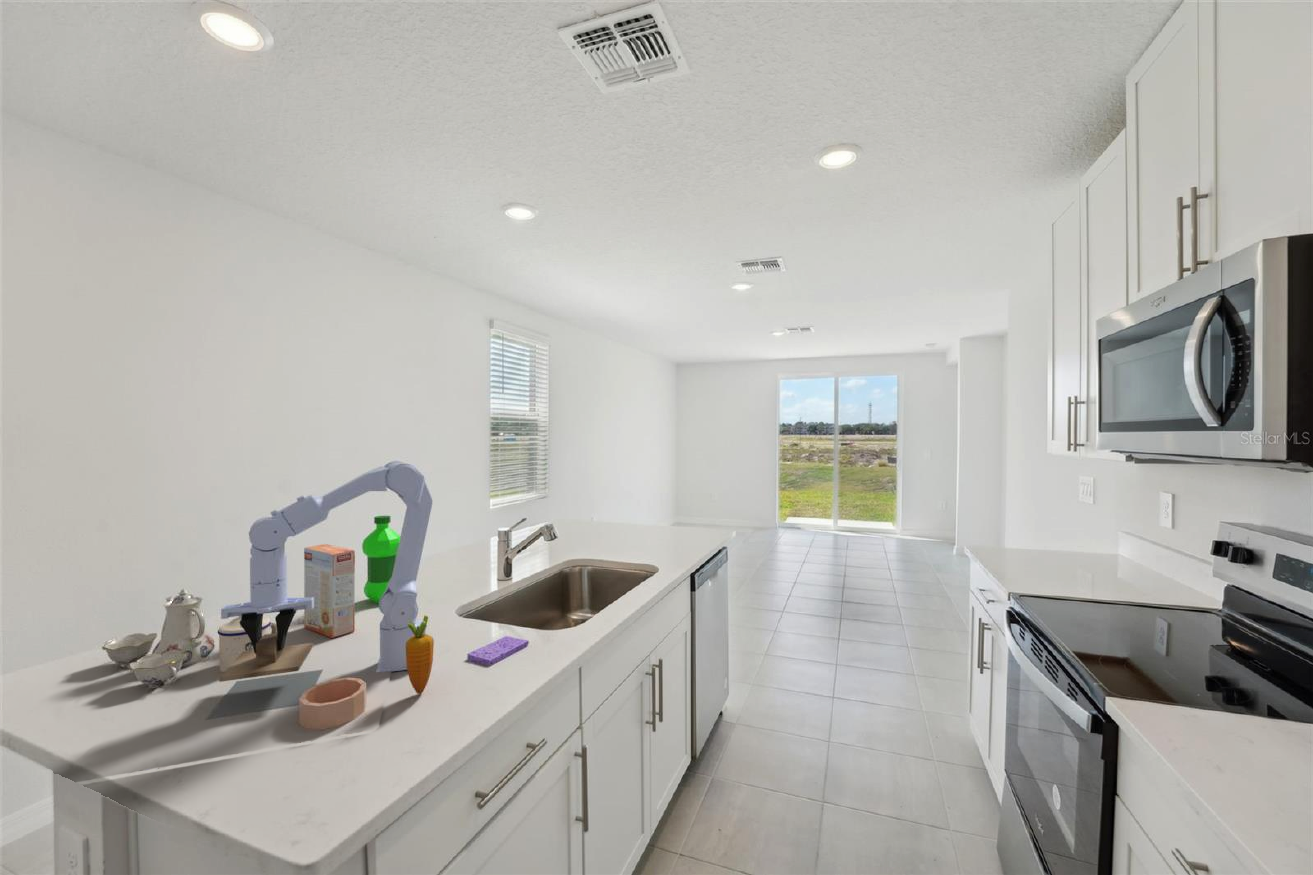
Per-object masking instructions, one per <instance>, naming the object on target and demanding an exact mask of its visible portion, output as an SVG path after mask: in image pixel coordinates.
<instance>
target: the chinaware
mask: <svg viewBox="0 0 1313 875" xmlns="http://www.w3.org/2000/svg"><path fill="white" fill-rule="evenodd" d="M178 594H179V595H178ZM178 594H177V595H176V596H174V598H173V596H168V597H166V598H165V599H166V602H165V603H164V604H163V606H164V608H165V611H166V613H165V617H164V620H163V625H162V628H161V633H160V634H161V635H160V639H159V642H157V643H156V645H155V646H154V648H153V650H152V647H153V644H154V641H155V640H156V638H157V636H158V634H157V633H156V632H151V633H149V634H144V633H140V632H138V633H133V634H129V635H126V636H125V637H123V638H113V639H108V641H106V642H105V643H104V645H103V646H101V650H103V651H105V652H106V654H107V657H109V659H110V660H111V661H113V662H114V663H117V664H119V665H118V667H121V666H122V668H129V669H131V671H133V673H134V675H135V677H136V679H137V680H138V681H139V682H140V683H142V684H145V685H148V688H147V690H148V689H158V688H159V687H160V686H161V685H162V684H163V685H164V686H168V685H170V684H173V683H174V682H176V681H177V679H178V677H177V676H178V672H179V671H180V670H181V668H183V667H186V666H191V665H194V664H197V663H203V662H204V663H205V662H206V661H208V660H209V659H210V656H209V655H210V654H211V653H212V652H213V651H214V650H215V647H216V646H215V640H214V638H213V636H212V635H211V634H210V633H209V632H208V631H207V630H206V619H205V616H204V614H203V611H201V604H202V601H203V600H204V598H202V597H198V596H194V595H193V594H191V593H189V591H187V590H186V589H184V588H182V589H181V590H180V592H178ZM151 650H152V653H151V654H149V652H150V651H151ZM207 659H208V660H207ZM120 665H121V666H120ZM171 679H173V680H171Z"/></svg>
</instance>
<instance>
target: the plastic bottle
mask: <svg viewBox="0 0 1313 875" xmlns="http://www.w3.org/2000/svg"><path fill="white" fill-rule="evenodd" d="M373 518H374V519H373V523H374V525H375V526H376V527H375V529H374V530H373V531H372V532H370V533H369V534H368V535H367V536H366V537H365V538H364V539H363V541H362V545H361V546H362V547H361V548H362V552H363V554H364V555H365V556H367V557H366V558H367V562H366V563H367V581H366V582H365V584H364V587H363V593H364V595H365V597H367V599H369V600H370V601H372V602H373V603H374V604H379V600H380V598H381V596H382V595H383V594H384V592H385V591H386V588H387V584H388V582H389V580H390V579H391V577H392V574H393V569H394V564H395V560H396V555H397V550H398V546H399V541H400V536H401V535H399V534H398V533H397V532H396V531H394V530H393V529H391V528H390V527H389V524H390V523H391V515H378V516H377V515H376V516H374V517H373Z"/></svg>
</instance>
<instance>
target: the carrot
mask: <svg viewBox="0 0 1313 875" xmlns="http://www.w3.org/2000/svg"><path fill="white" fill-rule="evenodd" d="M428 620H429V616H428V615H424V616H423V619H422V620H421V621H422V623H421V625H420V627H419V626H417V629H416V627H415V624H414V623H413V622H412V621H411V622H410V623H408V627H409V628H410V629H411V630H412V632H413V634H414V636H412V637H411V638H410V639H409V640H408V641H407V642H406V664H407V674H408V677H409V678H408V679H409V681H410V683H411V686H412V688H413V689H414V692H415V693H417V695H422V693H424V691H425V688H426V686H427V684H428V682H429V680H430V677H431V671H432V667H433V662H434V646H435V645H434V643H435V642H434V641H435V640H434V638H433V636H431V634H430V635H429V634H428V633H426V634H424V631H425V629H426V630H427V626H428V625H427V624H428ZM417 632H418V633H417Z"/></svg>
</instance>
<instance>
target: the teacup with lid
mask: <svg viewBox="0 0 1313 875" xmlns="http://www.w3.org/2000/svg"><path fill="white" fill-rule="evenodd" d="M241 618H242V616H236V617H235V618H233V619H231V620H230V621H228V622H226V623H223V624H222V625H220V627H219V628H218V630H217V634H218V641H219V642H218V645H219V646H218V648H219V650H218V652H219V654H218V656H219V672H221V673H224V672H225V671H226V670H227V669H228V667H229V666H230V665H231V664H232V663H233V662H234V661H235V660H236V659H237V658H238V656H239V655H240V654H241V653H242V652H243V651H250V650H254V649H253V645H252V643H251V640H250V638H249V636H248V635H247V633H246V632H245V630H244V629H243V628H242V627H241V625H240V620H241ZM270 628H271V633H270ZM274 633H277V626H276V623H275V622H274V623H273V622H271V620H270V618H268V617H265V616H263V621H262V637H263V636H264V635H265V634H274Z"/></svg>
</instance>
